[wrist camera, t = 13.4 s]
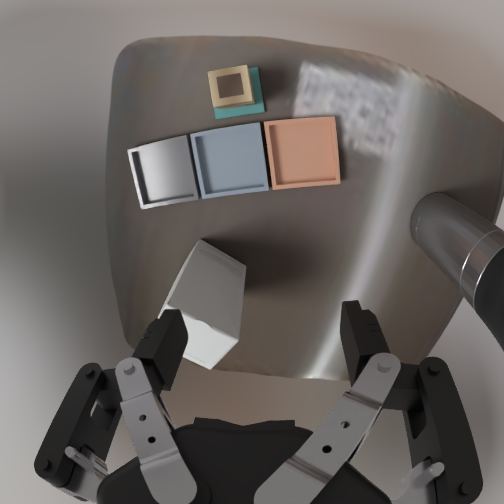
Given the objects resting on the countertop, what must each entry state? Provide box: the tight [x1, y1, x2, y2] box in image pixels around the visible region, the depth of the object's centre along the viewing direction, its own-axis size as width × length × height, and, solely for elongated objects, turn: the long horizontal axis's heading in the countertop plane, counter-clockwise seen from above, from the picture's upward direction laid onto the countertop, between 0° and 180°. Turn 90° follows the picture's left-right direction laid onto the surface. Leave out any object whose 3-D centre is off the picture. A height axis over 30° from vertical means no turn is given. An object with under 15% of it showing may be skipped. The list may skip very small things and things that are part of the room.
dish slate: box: [190, 122, 269, 199], centre depth 33 cm, size 8×8×2 cm
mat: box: [214, 67, 265, 119], centre depth 29 cm, size 6×6×1 cm
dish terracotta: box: [264, 116, 340, 190], centre depth 32 cm, size 8×8×2 cm
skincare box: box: [158, 239, 246, 369], centre depth 34 cm, size 8×7×16 cm
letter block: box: [208, 65, 256, 110], centre depth 26 cm, size 4×4×6 cm
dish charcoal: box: [128, 134, 201, 209], centre depth 34 cm, size 8×8×2 cm
